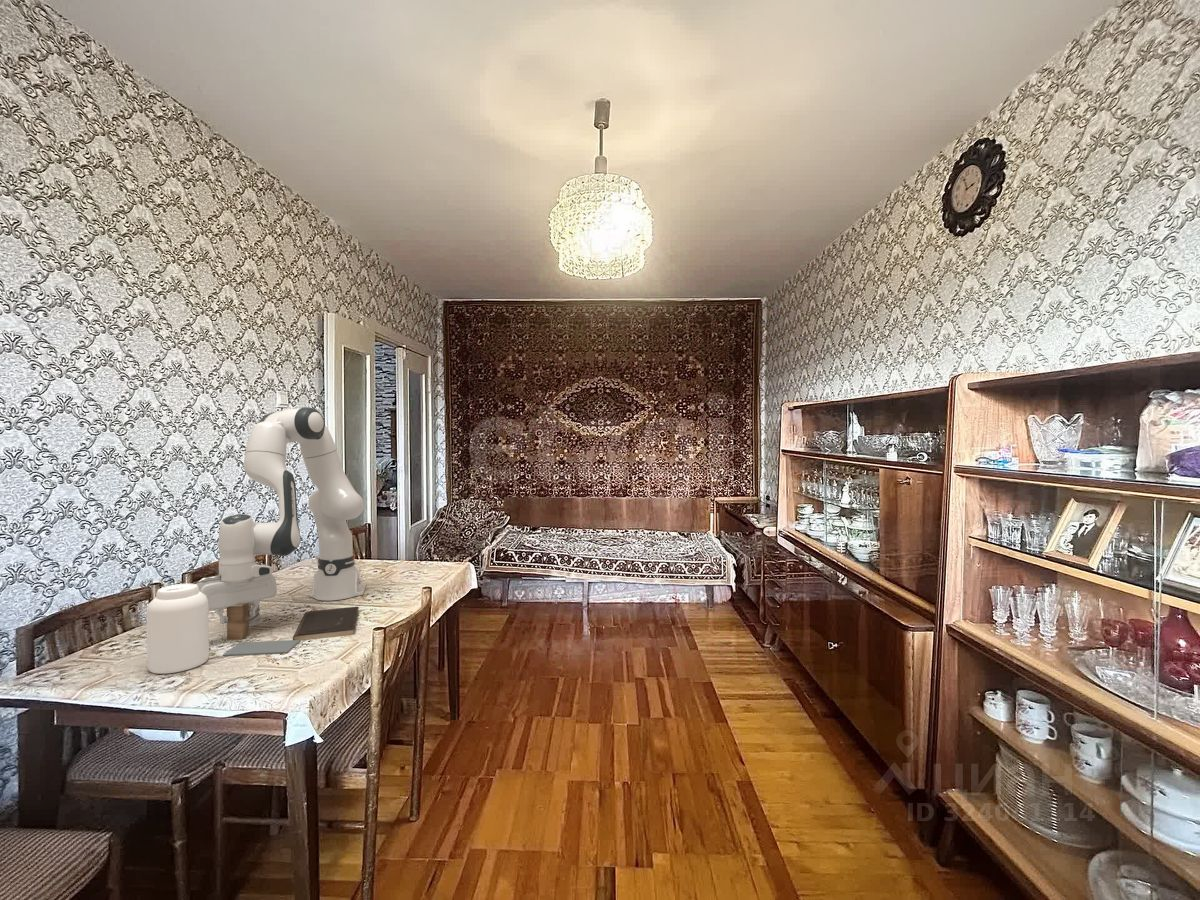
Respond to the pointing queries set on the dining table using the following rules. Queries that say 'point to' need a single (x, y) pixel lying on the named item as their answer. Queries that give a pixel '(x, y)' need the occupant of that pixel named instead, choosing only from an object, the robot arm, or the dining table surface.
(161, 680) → the dining table surface
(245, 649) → the rubber mat
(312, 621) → the hardcover book
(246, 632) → the walnut block
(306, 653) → the dining table surface
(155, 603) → the white lidded jar
